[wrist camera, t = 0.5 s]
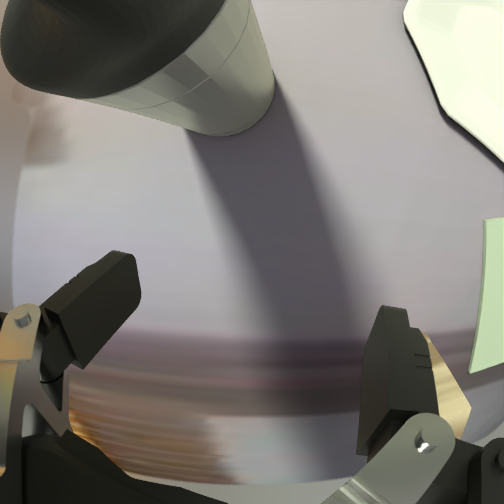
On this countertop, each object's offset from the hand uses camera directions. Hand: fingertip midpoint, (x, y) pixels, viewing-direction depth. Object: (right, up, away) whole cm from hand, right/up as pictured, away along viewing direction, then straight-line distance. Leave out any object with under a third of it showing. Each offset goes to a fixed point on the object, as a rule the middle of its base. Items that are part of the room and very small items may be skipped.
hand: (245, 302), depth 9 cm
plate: (+27, +22, +9) cm, 36 cm away
